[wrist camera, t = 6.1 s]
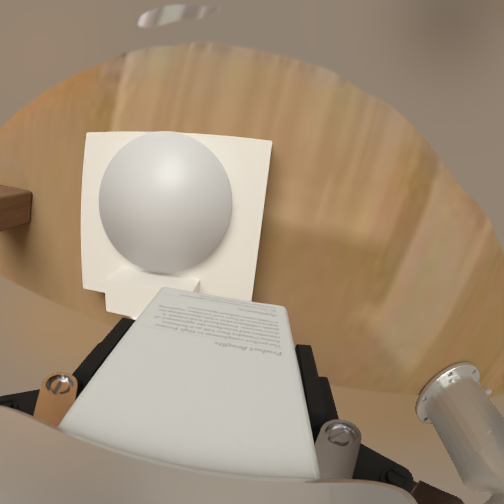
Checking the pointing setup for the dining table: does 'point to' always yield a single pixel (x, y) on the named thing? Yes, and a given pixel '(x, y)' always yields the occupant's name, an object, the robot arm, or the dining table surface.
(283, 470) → the skincare box
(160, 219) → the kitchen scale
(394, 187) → the dining table surface
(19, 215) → the wooden block
